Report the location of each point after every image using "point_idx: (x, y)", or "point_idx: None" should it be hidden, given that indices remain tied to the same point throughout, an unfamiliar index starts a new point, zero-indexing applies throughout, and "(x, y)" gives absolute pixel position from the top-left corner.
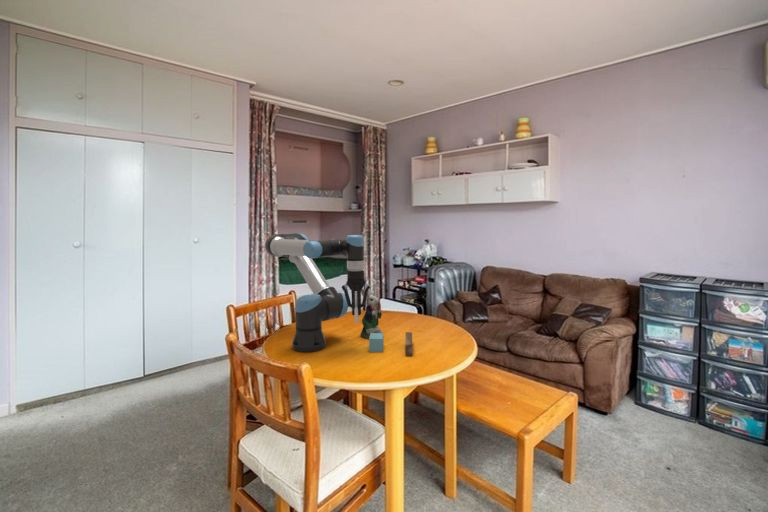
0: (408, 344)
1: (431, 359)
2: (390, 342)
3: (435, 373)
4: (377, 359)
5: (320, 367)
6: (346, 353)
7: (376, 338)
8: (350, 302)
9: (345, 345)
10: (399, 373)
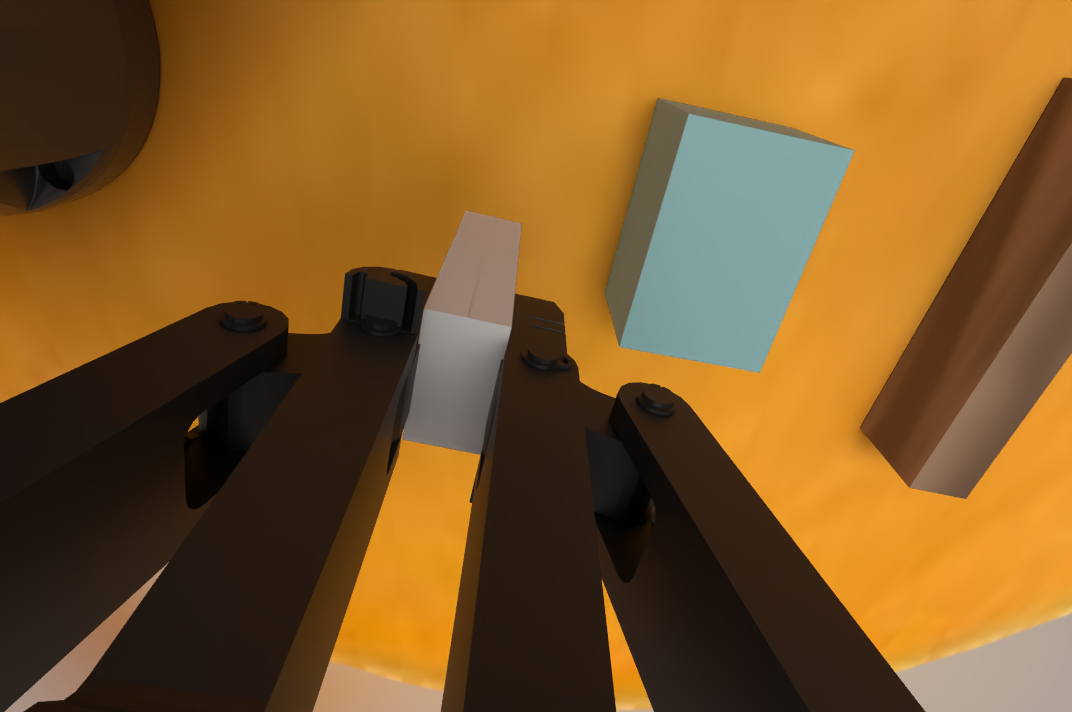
0: (936, 490)
1: (999, 510)
2: (905, 32)
3: None
4: None
5: None
6: None
7: (700, 344)
8: (236, 386)
9: (381, 43)
10: None
